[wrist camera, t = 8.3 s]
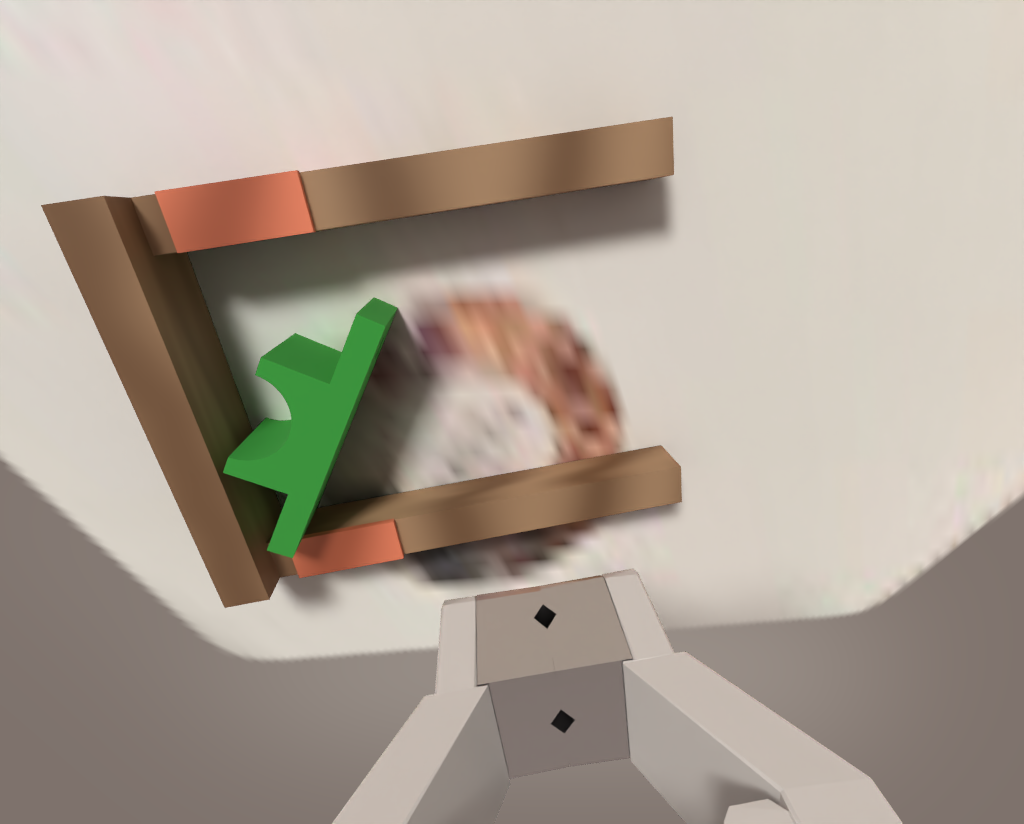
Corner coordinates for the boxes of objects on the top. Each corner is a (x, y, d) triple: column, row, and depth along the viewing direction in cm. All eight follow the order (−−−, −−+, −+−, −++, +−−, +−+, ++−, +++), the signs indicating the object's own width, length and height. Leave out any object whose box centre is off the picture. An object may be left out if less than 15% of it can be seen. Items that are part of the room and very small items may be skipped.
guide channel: (648, 126, 21) (690, 106, 18) (662, 479, 27) (695, 519, 24) (116, 206, 20) (40, 203, 16) (257, 554, 26) (224, 608, 23)
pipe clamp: (317, 270, 22) (285, 281, 18) (398, 306, 23) (386, 325, 19) (244, 481, 25) (201, 533, 21) (318, 505, 26) (292, 560, 22)
